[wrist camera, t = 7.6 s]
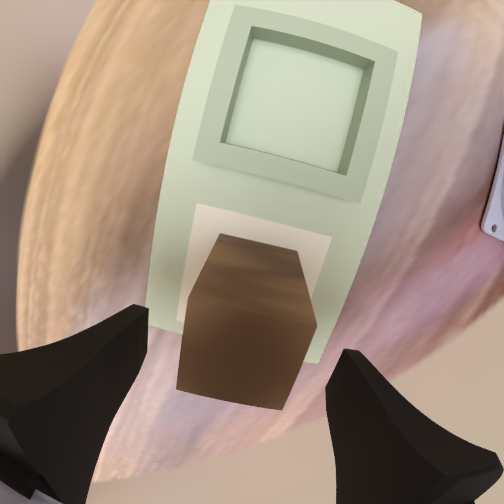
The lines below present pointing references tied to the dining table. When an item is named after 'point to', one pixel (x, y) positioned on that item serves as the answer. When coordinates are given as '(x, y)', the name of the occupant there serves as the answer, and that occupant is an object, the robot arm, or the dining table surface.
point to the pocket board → (283, 143)
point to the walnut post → (246, 324)
